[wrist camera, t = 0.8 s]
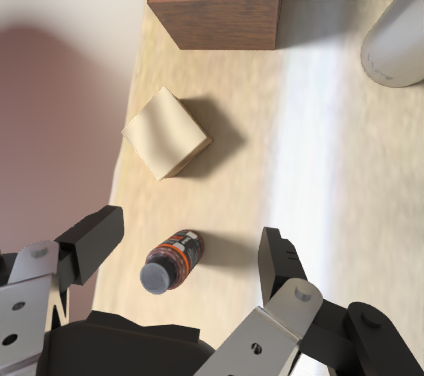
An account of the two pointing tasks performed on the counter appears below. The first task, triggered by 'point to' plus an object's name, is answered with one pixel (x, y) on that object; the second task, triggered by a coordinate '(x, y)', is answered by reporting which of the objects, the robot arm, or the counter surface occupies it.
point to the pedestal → (166, 135)
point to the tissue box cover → (219, 23)
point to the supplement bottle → (171, 262)
